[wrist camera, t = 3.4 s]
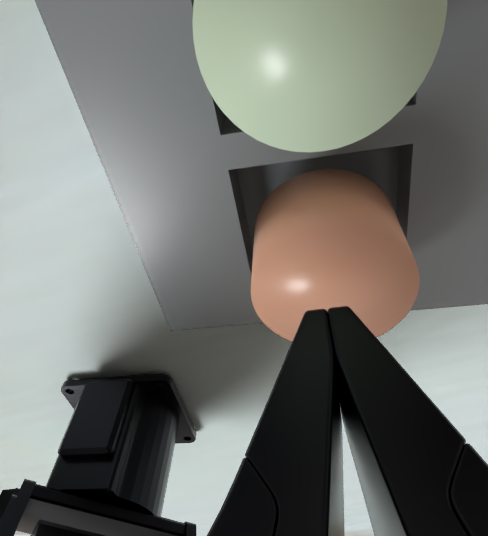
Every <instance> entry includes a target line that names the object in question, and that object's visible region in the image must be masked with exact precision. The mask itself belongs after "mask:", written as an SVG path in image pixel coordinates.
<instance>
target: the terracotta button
mask: <svg viewBox="0 0 488 536" xmlns="http://www.w3.org/2000/svg"><path fill="white" fill-rule="evenodd" d="M419 286H420V276H419V270H418V267H417V264H416V261H415V259H414V257H413V254H412V252H411V250H410V247H409V245H408V242H407V240H406V238H405V235H404V233H403V231H402V228H401V226H400V224H399V221H398V219H397V216H396V214H395V212H394V209H393V207H392V205H391V202H390V200H389V199H388V197H387V195H386V194H385V193H384V192H383V190H382V189H381V188H380V187H379V186H378V185H376V184H375V183H374V182H372V181H371V180H369V179H368V178H366V177H364V176H362V175H359V174H357V173H354V172H350V171H346V170H340V169H322V170H315V171H310V172H306V173H303V174H300V175H298V176H295V177H293V178H291V179H289V180H288V181H286V182H284V183H283V184H281V185H280V186H279V187H277V188H276V189H275V190H274V191H273V192H272V193H271V194H270V195H269V196H268V197H267V199H266V200H265V201H264V203H263V204H262V206H261V208H260V210H259V212H258V215H257V218H256V222H255V230H254V246H253V261H252V277H251V299H252V303H253V306H254V309H255V311H256V313H257V315H258V316H259V318H260V319H261V321H262V322H263V323H264V324H265V325H266V326H267V327H268V328H269V329H271V330H272V331H273V332H274V333H276V334H278V335H279V336H281V337H283V338H285V339H287V340H289V341H293V339H294V337H295V334H296V332H297V330H298V327H299V325H300V322H301V320H302V318H303V315H304V313H305V312H306V311H308V310H315V309H326V311H328V309H329V308H332V307H341V306H348V307H350V308H351V309H352V310H353V312H354V313H355V314H356V315H357V316H358V317H359V318H360V320H361V321H362V322H363V323H364V324H365V325H366V326H367V328H368V329H369V330H370V331H371V332H372V333H373V334H374V336H375V337H378V336H380V335H382V334H384V333H386V332H387V331H389V330H390V329H392V328H393V327H394V326H395V325H397V324H398V323H399V322H400V321H401V320H402V319H403V318H404V317H405V316H406V315H407V313H408V312H409V311H410V309H411V308H412V306H413V304H414V302H415V300H416V298H417V295H418V291H419Z"/></svg>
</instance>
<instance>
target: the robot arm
mask: <svg viewBox="0 0 488 536" xmlns="http://www.w3.org/2000/svg"><path fill="white" fill-rule="evenodd" d="M61 392H62V393H63V395H64V396H65V397H66V399H67V400H68V401H69V403H70V404H71V405H72V407H73V408H74V413H73V415H72V418H71V420H70V422H69V425H68V427H67V430H66V432H65V434H64V437H63V439H62V442H61V444H60V447H59V449H58V454H59V455H58V458H57V460H56V463H55V465H54V467H53V470H52V472H51V475H50V477H49V480H48V482H47V485H46V487H45V486H41V485H37V484H36V482H35V481H31V480H27V479H24V482H23V484H22V486H21V488H20V489H18V488H16V489H9V490H3V491H2V493H1V495H0V536H14V534H15V531H16V530H17V531H21V532H25V533H29V534H31V536H196V524H193V523H189V522H185V523H181V522H178V521H174V520H170V519H166V518H162V517H161V513H162V508H163V503H164V497H165V492H166V487H167V482H168V477H169V471H170V466H171V461H172V456H173V451H174V445H175V443H191V442H194V441H195V439H196V431H195V429H194V427H193V425H192V422H191V420H190V418H189V416H188V414H187V411H186V409H185V407H184V405H183V403H182V400H181V398H180V396H179V394H178V392H177V389H176V387H175V385H174V383H173V381H172V379H171V377H169V376H168V375H165V374H154V375H140V376H125V377H111V378H96V379H82V380H68V381H65V382H64V384H63V386H62V388H61ZM340 408H341V410H340ZM341 413H342V419H343V423H344V427H345V431H346V435H347V438H348V442H349V445H350V449H351V453H352V456H353V460H354V463H355V467H356V470H357V474H358V478H359V481H360V485H361V488H362V492H363V496H364V499H365V503H366V506H367V510H368V514H369V517H370V521H371V524H372V528H373V532H374V535H375V536H488V464H487V463H486V462H485V461H484V460H483V459H482V458H481V456H480V455H479V454H478V453H477V452H476V451H475V450H474V448H473V447H472V446H471V445H470V444H465V443H466V440H465V438H464V437H463V436H462V435H461V434H460V433H459V432H458V430H457V429H456V428H455V427H454V426H453V425H452V424H451V422H450V421H449V420H448V419H447V418H446V417H445V416H444V414H443V413H442V412H441V411H440V410H439V409H438V408H437V406H436V405H435V404H434V403H433V402H432V401H431V400H430V398H429V397H428V396H427V395H426V394H425V393H424V392H423V390H422V389H421V388H420V387H419V386H418V385H417V384H416V382H415V381H414V380H413V379H412V378H411V377H410V376H409V374H408V373H407V372H406V371H405V370H404V369H403V368H402V366H401V365H400V364H399V363H398V362H397V361H396V360H395V358H394V357H393V356H392V355H391V354H390V353H389V352H388V350H387V349H386V348H385V347H384V346H383V345H382V344H381V342H380V341H379V340H378V339H377V338H376V337H375V336H374V334H373V333H372V332H371V331H370V330H369V329H368V328H367V326H366V325H365V324H364V323H363V322H362V321H361V320H360V318H359V317H358V316H357V315H356V314H355V313H354V312H353V310H352V309H351V308H350V307H348V306H341V307H332V308H329V309H328V311H326V309H315V310H308V311H306V312H305V313H304V315H303V318H302V320H301V322H300V325H299V327H298V330H297V332H296V334H295V337H294V339H293V341H292V344H291V346H290V349H289V351H288V353H287V356H286V358H285V361H284V363H283V365H282V368H281V370H280V373H279V375H278V377H277V380H276V382H275V384H274V387H273V389H272V392H271V394H270V396H269V399H268V401H267V404H266V406H265V408H264V411H263V413H262V415H261V418H260V420H259V423H258V425H257V427H256V430H255V432H254V435H253V437H252V439H251V442H250V444H249V447H248V449H247V451H246V454H245V456H246V458H244V459H243V460H242V463H241V465H240V467H239V470H238V472H237V475H236V477H235V479H234V482H233V484H232V486H231V488H230V490H229V493H228V495H227V497H226V499H225V501H224V503H223V506H222V508H221V510H220V512H219V514H218V516H217V518H216V519H215V521H214V523H213V525H212V527H211V529H210V531H209V533H208V535H207V536H344V494H343V448H342V419H341Z"/></svg>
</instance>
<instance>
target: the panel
mask: <svg viewBox="0 0 488 536" xmlns="http://www.w3.org/2000/svg"><path fill="white" fill-rule="evenodd" d="M35 2H36V5H37V7H38V9H39V12H40V14H41V17H42V19H43V22H44V24H45V26H46V29H47V31H48V34H49V36H50V39H51V41H52V43H53V46H54V48H55V51H56V53H57V56H58V58H59V60H60V63H61V65H62V68H63V70H64V73H65V75H66V77H67V80H68V82H69V85H70V87H71V90H72V92H73V95H74V97H75V99H76V102H77V104H78V107H79V109H80V112H81V114H82V116H83V119H84V121H85V124H86V126H87V129H88V131H89V133H90V136H91V138H92V141H93V143H94V146H95V148H96V150H97V153H98V155H99V158H100V160H101V163H102V165H103V167H104V170H105V172H106V175H107V177H108V180H109V182H110V184H111V187H112V189H113V192H114V194H115V197H116V199H117V201H118V204H119V206H120V209H121V211H122V214H123V216H124V218H125V221H126V223H127V226H128V228H129V231H130V233H131V235H132V238H133V240H134V243H135V245H136V248H137V250H138V252H139V255H140V257H141V260H142V262H143V265H144V267H145V270H146V272H147V274H148V277H149V279H150V282H151V284H152V287H153V289H154V291H155V294H156V296H157V299H158V301H159V304H160V306H161V308H162V311H163V313H164V316H165V318H166V321H167V323H168V325H169V328H170V330H171V331H174V330H186V329H198V328H209V327H221V326H233V325H245V324H256V323H263V322H262V321H261V319H260V318H259V316H258V315H257V313H256V311H255V309H254V306H253V303H252V299H251V277H252V261H253V246H254V230H255V222H256V218H257V215H258V212H259V210H260V208H261V206H262V204H263V203H264V201H265V200H266V199H267V197H268V196H269V195H270V194H271V193H272V192H273V191H274V190H275V189H276V188H277V187H279V186H280V185H281V184H283V183H284V182H286V181H288V180H289V179H291V178H293V177H295V176H298V175H300V174H303V173H306V172H310V171H315V170H322V169H340V170H346V171H350V172H354V173H357V174H359V175H362V176H364V177H366V178H368V179H369V180H371V181H372V182H374V183H375V184H376V185H378V186H379V187H380V188H381V189H382V190H383V192H384V193H385V194H386V195H387V197H388V199H389V200H390V202H391V205H392V207H393V209H394V212H395V214H396V216H397V219H398V221H399V224H400V226H401V228H402V231H403V233H404V235H405V238H406V240H407V242H408V245H409V247H410V250H411V252H412V254H413V257H414V259H415V261H416V264H417V267H418V270H419V276H420V286H419V291H418V295H417V298H416V300H415V302H414V304H413V306H412V308H411V309H410V310H421V309H433V308H445V307H456V306H468V305H480V304H488V0H447V14H446V20H445V26H444V31H443V35H442V38H441V42H440V46H439V49H438V51H437V54H436V56H435V59H434V61H433V64H432V66H431V68H430V70H429V71H428V73H427V75H426V77H425V79H424V81H423V82H422V84H421V85H420V87H419V88H418V90H417V91H416V93H415V94H414V96H413V97H412V98H411V99H410V100H409V102H408V103H407V104H406V105H405V106H404V107H403V109H402V110H401V111H399V112H398V113H397V114H396V115H395V116H394V117H393V118H392V119H391V120H390V121H389V122H387V123H386V124H385V125H383V126H382V127H381V128H380V129H378V130H377V131H375V132H373V133H372V134H370V135H368V136H367V137H365V138H363V139H361V140H359V141H356V142H354V143H352V144H349V145H346V146H343V147H340V148H337V149H332V150H327V151H321V152H294V151H288V150H282V149H279V148H276V147H272V146H269V145H267V144H265V143H262V142H260V141H258V140H256V139H254V138H253V137H251V136H250V135H248V134H246V133H245V132H244V131H242V130H241V129H240V128H239V127H237V126H236V125H235V124H234V123H233V122H232V121H231V120H230V119H229V118H228V117H227V116H226V115H225V114H224V113H223V111H222V110H221V109H220V107H219V106H218V105H217V103H216V102H215V101H214V99H213V97H212V95H211V94H210V92H209V90H208V88H207V86H206V84H205V82H204V79H203V77H202V74H201V72H200V68H199V65H198V61H197V58H196V53H195V47H194V41H193V23H192V20H193V4H194V0H35Z"/></svg>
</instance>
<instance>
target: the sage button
mask: <svg viewBox="0 0 488 536" xmlns="http://www.w3.org/2000/svg"><path fill="white" fill-rule="evenodd" d="M446 14H447V0H194V4H193V20H192V23H193V41H194V47H195V53H196V58H197V61H198V65H199V68H200V72H201V74H202V77H203V79H204V82H205V84H206V86H207V88H208V90H209V92H210V94H211V95H212V97H213V99H214V101H215V102H216V103H217V105H218V106H219V107H220V109H221V110H222V111H223V113H224V114H225V115H226V116H227V117H228V118H229V119H230V120H231V121H232V122H233V123H234V124H235V125H236V126H237V127H239V128H240V129H241V130H242V131H244V132H245V133H246V134H248V135H250V136H251V137H253V138H254V139H256V140H258V141H260V142H262V143H265V144H267V145H269V146H272V147H276V148H279V149H282V150H288V151H294V152H321V151H327V150H332V149H337V148H340V147H343V146H346V145H349V144H352V143H354V142H356V141H359V140H361V139H363V138H365V137H367V136H368V135H370V134H372V133H373V132H375V131H377V130H378V129H380V128H381V127H382V126H383V125H385V124H386V123H387V122H389V121H390V120H391V119H392V118H393V117H394V116H395V115H396V114H397V113H398V112H399V111H401V110H402V109H403V107H404V106H405V105H406V104H407V103H408V102H409V100H410V99H411V98H412V97H413V96H414V94H415V93H416V91H417V90H418V88H419V87H420V85H421V84H422V82H423V81H424V79H425V77H426V75H427V73H428V71H429V70H430V68H431V66H432V64H433V61H434V59H435V56H436V54H437V51H438V49H439V46H440V42H441V38H442V35H443V31H444V26H445V20H446Z"/></svg>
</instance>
